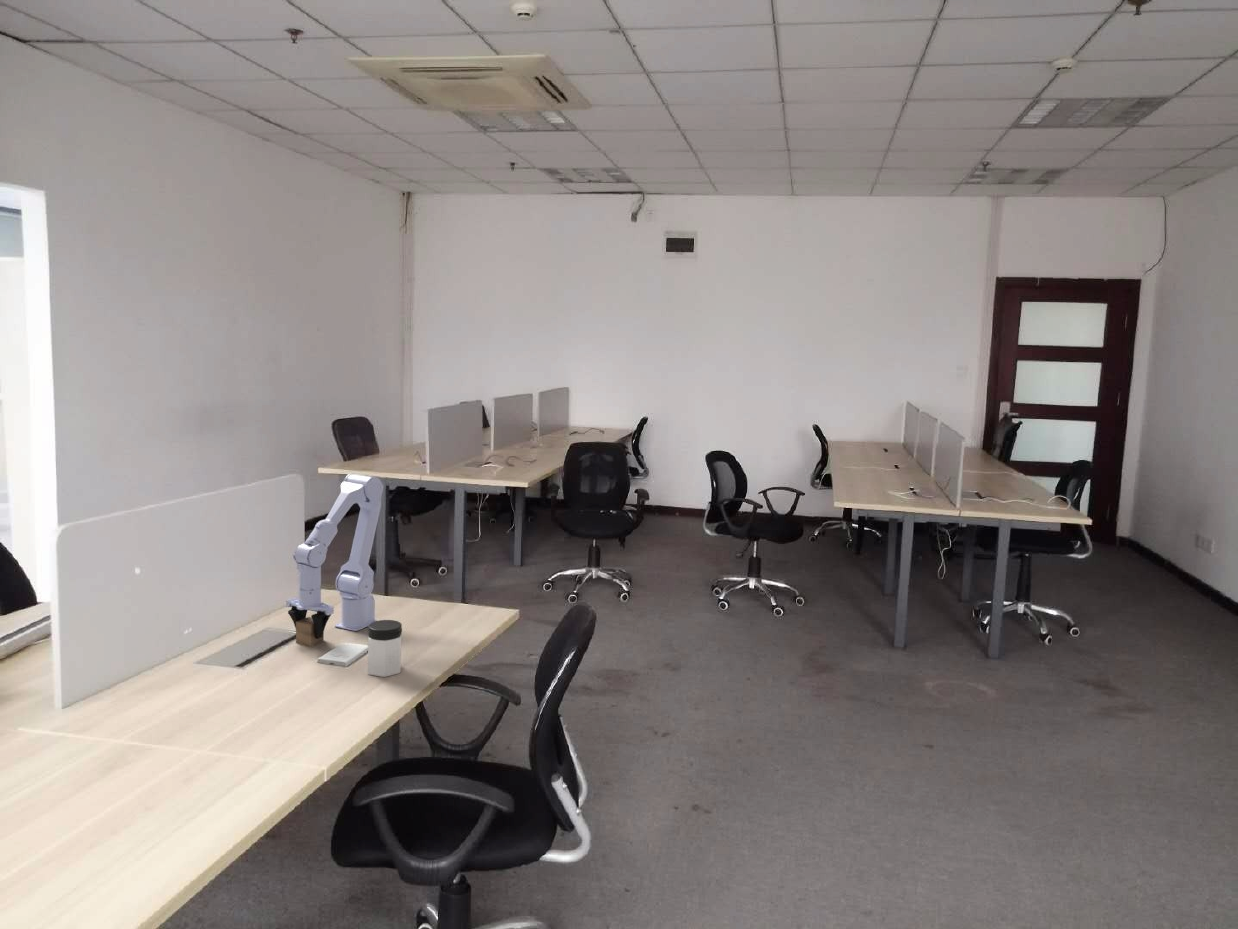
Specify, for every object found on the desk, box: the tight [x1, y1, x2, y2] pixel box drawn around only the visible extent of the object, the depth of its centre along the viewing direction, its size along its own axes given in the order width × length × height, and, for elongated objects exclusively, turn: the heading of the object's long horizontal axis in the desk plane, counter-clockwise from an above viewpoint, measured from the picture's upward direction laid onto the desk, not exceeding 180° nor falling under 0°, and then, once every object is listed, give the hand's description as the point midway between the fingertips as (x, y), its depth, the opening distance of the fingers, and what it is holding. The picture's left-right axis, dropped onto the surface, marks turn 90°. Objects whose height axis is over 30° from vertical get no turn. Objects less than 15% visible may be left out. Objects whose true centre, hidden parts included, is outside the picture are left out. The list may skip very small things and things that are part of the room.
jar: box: [367, 619, 403, 678], centre depth 210 cm, size 9×8×12 cm
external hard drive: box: [316, 641, 368, 667], centre depth 219 cm, size 2×8×12 cm
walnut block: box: [295, 616, 325, 647], centre depth 228 cm, size 5×5×6 cm
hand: (309, 635), depth 228 cm, fingers open, 6 cm apart
